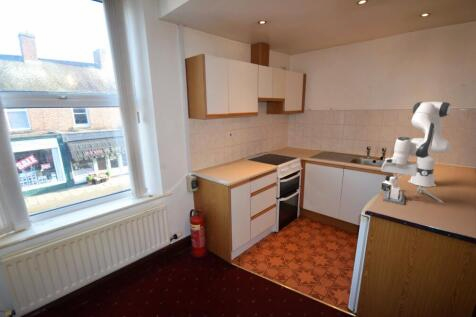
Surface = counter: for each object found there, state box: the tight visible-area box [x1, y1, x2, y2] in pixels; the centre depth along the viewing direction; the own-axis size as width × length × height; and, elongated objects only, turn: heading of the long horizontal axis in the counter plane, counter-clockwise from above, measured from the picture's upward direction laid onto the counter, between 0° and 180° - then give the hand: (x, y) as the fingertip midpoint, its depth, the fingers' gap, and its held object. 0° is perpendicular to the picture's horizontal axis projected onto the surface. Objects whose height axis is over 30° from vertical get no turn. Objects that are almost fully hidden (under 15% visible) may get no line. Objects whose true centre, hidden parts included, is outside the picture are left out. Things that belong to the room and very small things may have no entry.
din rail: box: [386, 189, 403, 202], centre depth 162 cm, size 18×8×2 cm, turn 144°
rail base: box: [382, 191, 405, 206], centre depth 162 cm, size 18×12×2 cm, turn 144°
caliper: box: [416, 185, 445, 204], centre depth 164 cm, size 20×1×6 cm, turn 5°
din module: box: [390, 185, 400, 199], centre depth 161 cm, size 8×4×7 cm, turn 144°
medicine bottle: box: [380, 175, 398, 192], centre depth 175 cm, size 7×7×12 cm
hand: (396, 179), depth 159 cm, fingers closed
